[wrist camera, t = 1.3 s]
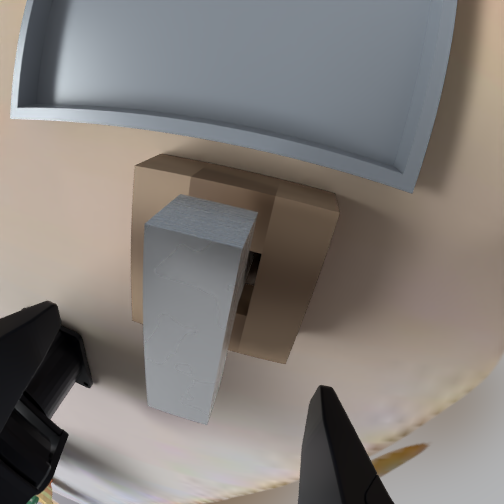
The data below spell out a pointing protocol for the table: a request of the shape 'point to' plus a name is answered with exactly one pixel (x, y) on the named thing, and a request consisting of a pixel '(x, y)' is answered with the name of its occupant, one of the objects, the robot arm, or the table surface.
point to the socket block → (263, 241)
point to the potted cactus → (43, 496)
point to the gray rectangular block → (192, 300)
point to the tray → (247, 74)
